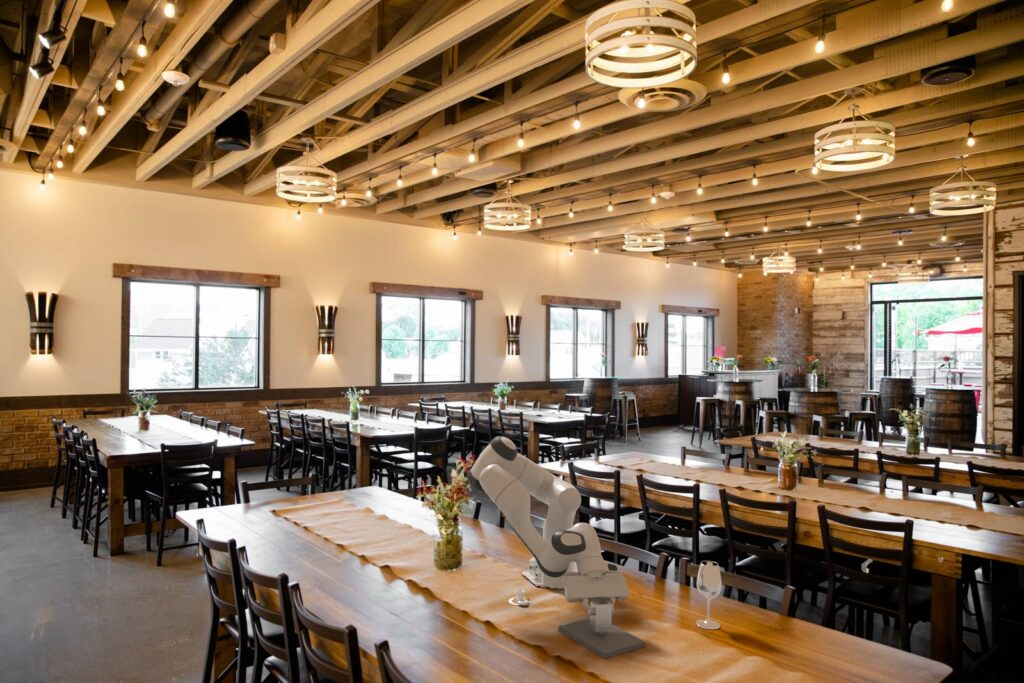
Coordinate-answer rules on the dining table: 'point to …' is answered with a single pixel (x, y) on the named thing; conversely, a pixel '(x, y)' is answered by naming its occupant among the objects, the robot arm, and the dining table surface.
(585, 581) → the robot arm
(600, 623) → the steel sleeve
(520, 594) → the teacup and saucer
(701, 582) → the wineglass
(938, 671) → the dining table surface
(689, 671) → the dining table surface
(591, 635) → the shaft plate
